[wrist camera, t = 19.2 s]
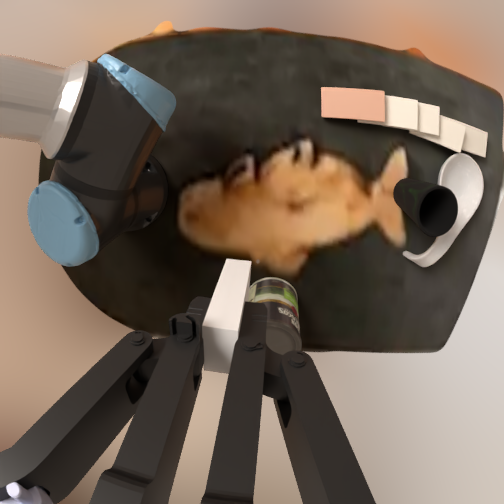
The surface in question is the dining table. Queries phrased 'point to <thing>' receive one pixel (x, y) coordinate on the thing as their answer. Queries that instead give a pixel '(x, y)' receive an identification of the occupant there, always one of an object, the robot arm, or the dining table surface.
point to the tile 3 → (446, 134)
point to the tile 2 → (426, 119)
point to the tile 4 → (474, 140)
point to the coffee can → (278, 313)
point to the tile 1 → (398, 113)
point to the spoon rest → (468, 198)
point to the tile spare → (353, 104)
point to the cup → (427, 205)
